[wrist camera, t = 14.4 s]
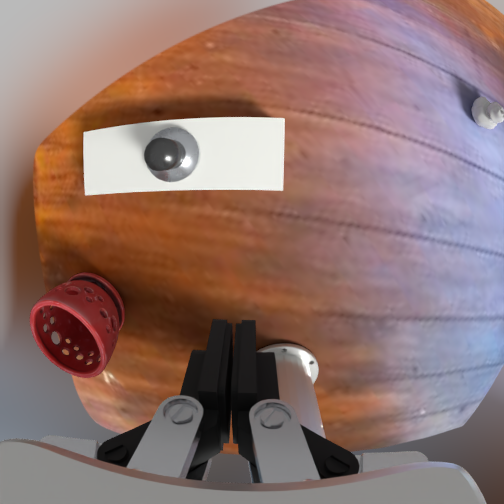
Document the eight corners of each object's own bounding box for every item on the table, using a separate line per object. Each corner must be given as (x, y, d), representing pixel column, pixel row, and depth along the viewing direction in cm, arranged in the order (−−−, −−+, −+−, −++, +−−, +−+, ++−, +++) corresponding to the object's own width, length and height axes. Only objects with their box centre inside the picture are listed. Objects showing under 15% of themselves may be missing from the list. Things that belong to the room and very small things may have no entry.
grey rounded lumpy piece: (461, 106, 31) (493, 102, 23) (479, 92, 29) (510, 88, 22) (475, 135, 32) (508, 136, 24) (492, 119, 31) (523, 119, 23)
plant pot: (83, 335, 43) (52, 375, 32) (59, 268, 39) (16, 300, 28) (144, 335, 43) (118, 384, 32) (121, 261, 39) (81, 298, 27)
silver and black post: (207, 177, 35) (190, 184, 25) (162, 179, 35) (131, 187, 25) (207, 131, 33) (191, 120, 23) (161, 133, 33) (131, 126, 23)
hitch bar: (278, 185, 36) (282, 190, 30) (104, 189, 35) (85, 195, 30) (279, 124, 33) (284, 118, 28) (103, 134, 33) (83, 132, 28)
